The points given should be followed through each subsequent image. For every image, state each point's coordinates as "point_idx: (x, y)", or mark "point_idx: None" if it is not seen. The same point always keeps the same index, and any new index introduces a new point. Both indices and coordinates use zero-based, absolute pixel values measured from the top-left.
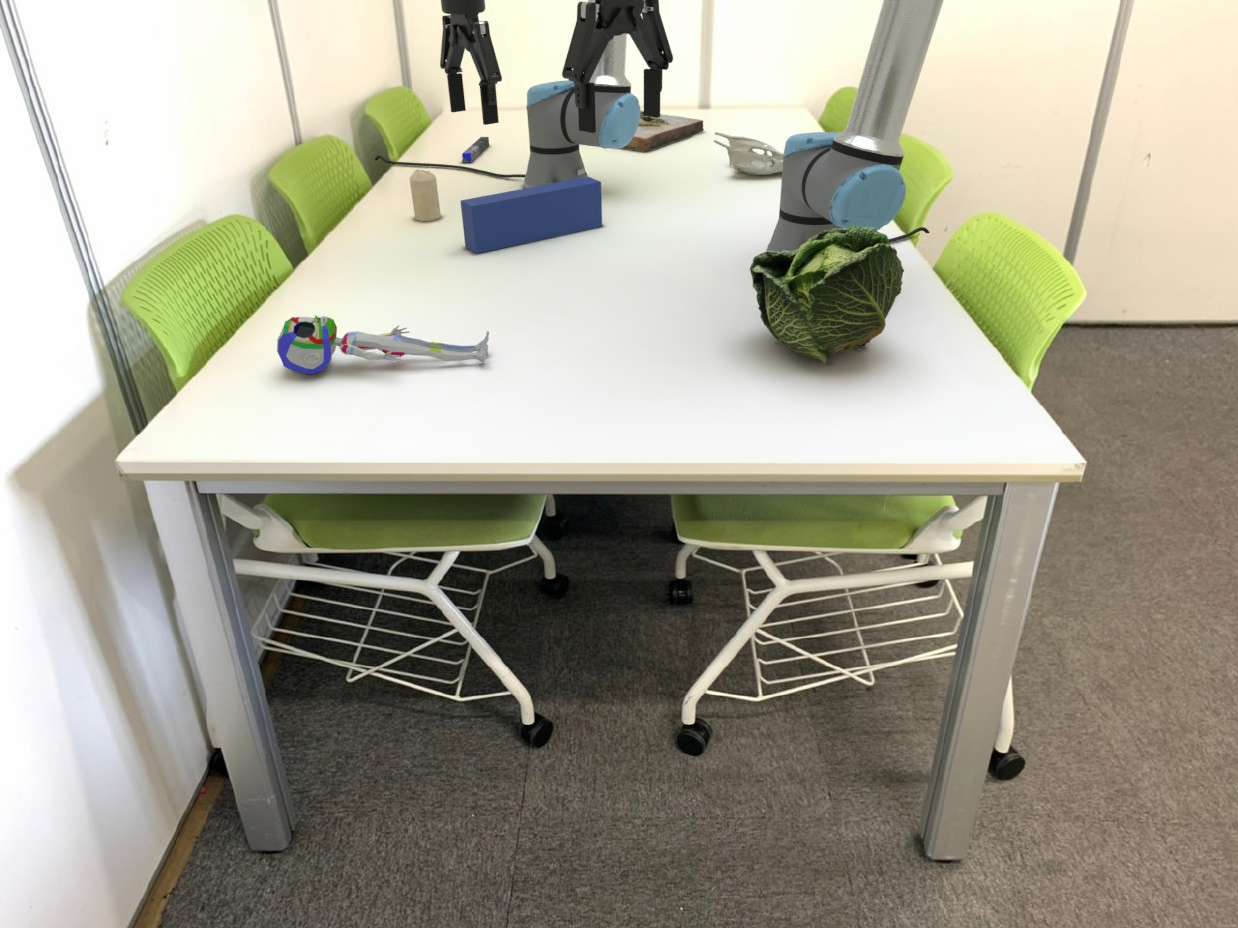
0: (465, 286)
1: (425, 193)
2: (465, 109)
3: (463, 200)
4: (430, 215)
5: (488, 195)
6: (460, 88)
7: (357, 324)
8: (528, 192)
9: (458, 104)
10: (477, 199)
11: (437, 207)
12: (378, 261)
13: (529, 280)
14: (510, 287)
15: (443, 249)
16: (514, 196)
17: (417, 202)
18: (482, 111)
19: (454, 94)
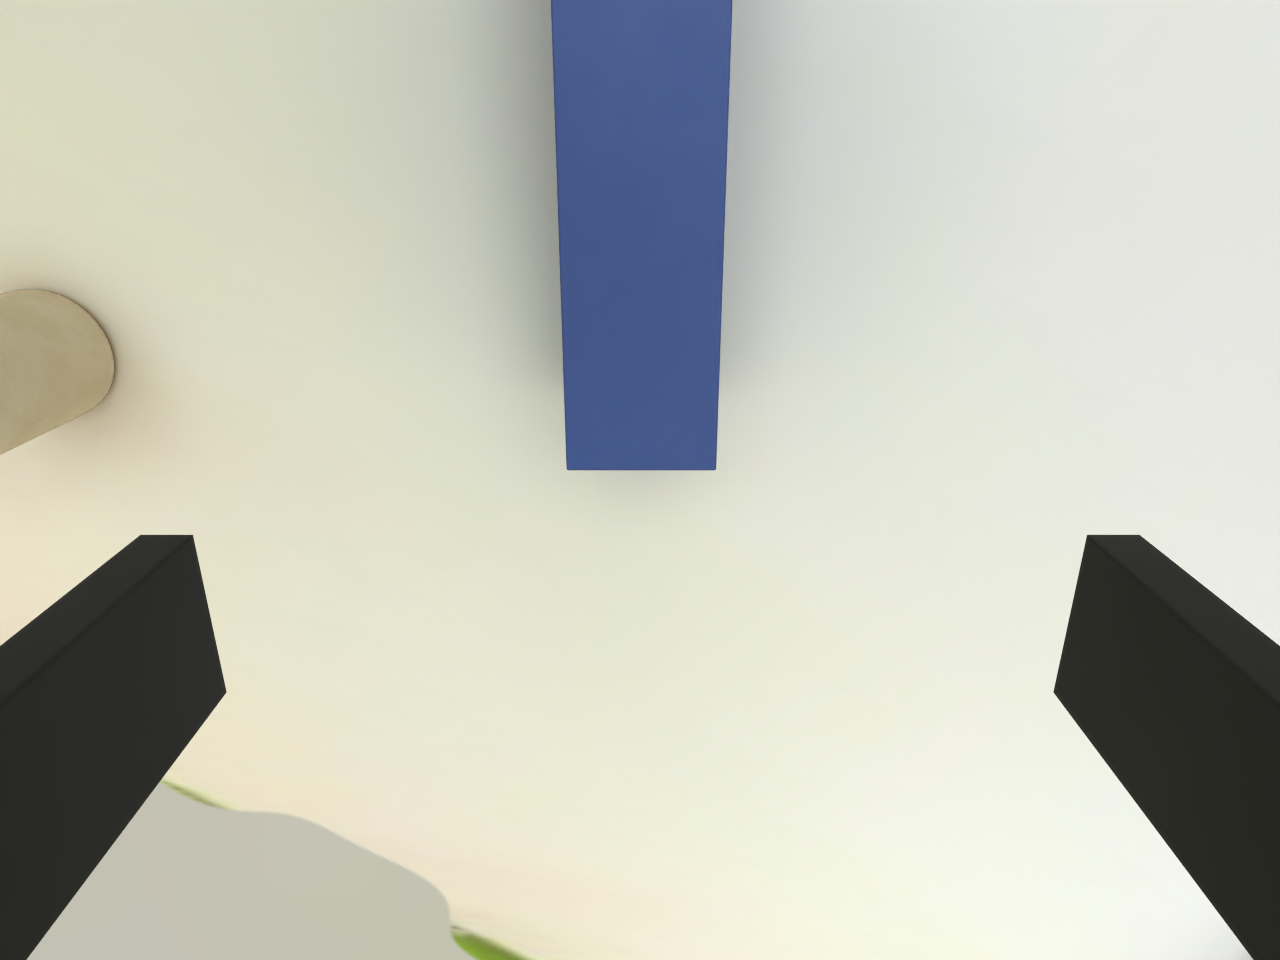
0: (996, 580)
1: (22, 414)
2: (182, 543)
3: (580, 457)
4: (100, 370)
5: (567, 288)
6: (9, 756)
7: (1028, 923)
8: (663, 14)
9: (165, 666)
10: (608, 382)
11: (57, 328)
12: (540, 719)
13: (1132, 356)
14: (1135, 454)
15: (549, 478)
16: (690, 154)
17: (33, 437)
18: (1141, 792)
19: (90, 795)
